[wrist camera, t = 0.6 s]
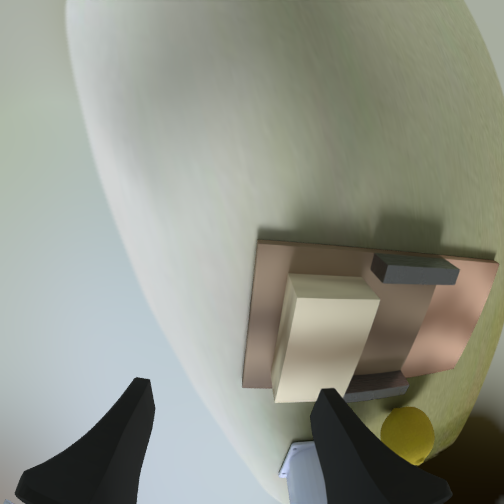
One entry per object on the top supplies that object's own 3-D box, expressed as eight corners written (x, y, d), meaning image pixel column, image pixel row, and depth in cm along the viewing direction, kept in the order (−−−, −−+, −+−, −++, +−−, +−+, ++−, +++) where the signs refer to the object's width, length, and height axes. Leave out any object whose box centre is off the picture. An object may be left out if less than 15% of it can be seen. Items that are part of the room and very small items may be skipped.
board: (449, 364, 24) (453, 368, 23) (242, 380, 22) (242, 387, 21) (494, 260, 19) (499, 263, 19) (257, 239, 18) (258, 243, 17)
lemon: (402, 386, 24) (434, 444, 16) (422, 399, 25) (451, 449, 18) (362, 418, 25) (384, 477, 18) (386, 427, 27) (408, 478, 19)
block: (332, 372, 21) (342, 399, 18) (270, 373, 21) (274, 402, 18) (361, 277, 18) (380, 299, 15) (287, 273, 18) (297, 297, 15)
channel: (395, 379, 22) (404, 394, 20) (332, 386, 22) (338, 403, 20) (444, 258, 18) (460, 269, 16) (374, 252, 18) (388, 265, 16)
